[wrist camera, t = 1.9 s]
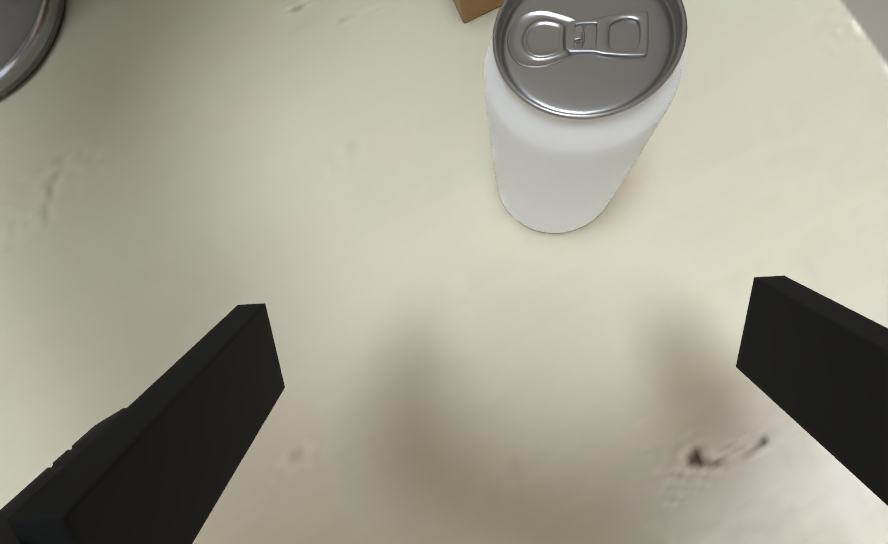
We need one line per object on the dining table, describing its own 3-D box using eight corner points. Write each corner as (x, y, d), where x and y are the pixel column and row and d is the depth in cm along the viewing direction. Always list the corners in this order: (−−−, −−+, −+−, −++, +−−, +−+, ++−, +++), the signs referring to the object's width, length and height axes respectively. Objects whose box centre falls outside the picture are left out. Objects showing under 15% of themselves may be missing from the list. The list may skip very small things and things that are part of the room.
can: (500, 127, 26) (485, -55, 14) (615, 127, 24) (703, -72, 13) (493, 233, 25) (470, 132, 13) (612, 238, 23) (705, 131, 12)
